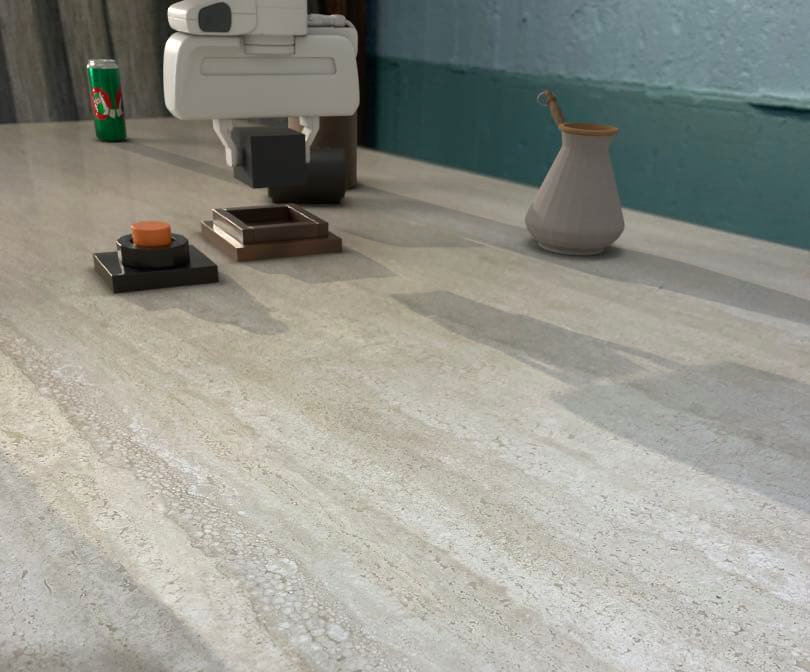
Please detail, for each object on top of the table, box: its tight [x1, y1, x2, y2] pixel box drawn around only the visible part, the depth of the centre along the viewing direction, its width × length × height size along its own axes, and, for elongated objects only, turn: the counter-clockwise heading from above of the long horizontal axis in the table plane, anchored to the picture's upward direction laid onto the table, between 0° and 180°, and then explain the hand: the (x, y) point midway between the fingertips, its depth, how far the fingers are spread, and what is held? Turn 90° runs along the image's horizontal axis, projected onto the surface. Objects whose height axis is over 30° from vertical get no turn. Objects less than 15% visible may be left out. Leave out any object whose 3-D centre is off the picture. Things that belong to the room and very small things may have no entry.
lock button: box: [130, 220, 172, 246], centre depth 83 cm, size 4×4×2 cm
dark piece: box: [92, 232, 220, 294], centre depth 84 cm, size 10×8×4 cm
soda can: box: [86, 58, 128, 143], centre depth 144 cm, size 5×5×12 cm
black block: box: [230, 125, 306, 190], centre depth 92 cm, size 6×6×5 cm
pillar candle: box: [287, 109, 358, 191], centre depth 121 cm, size 10×10×15 cm
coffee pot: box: [524, 88, 626, 256], centre depth 101 cm, size 21×12×15 cm, turn 10°
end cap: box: [266, 146, 347, 204], centre depth 113 cm, size 10×7×7 cm
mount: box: [200, 202, 343, 263], centre depth 96 cm, size 12×12×3 cm
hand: (268, 164), depth 92 cm, fingers closed on black block, 6 cm apart
